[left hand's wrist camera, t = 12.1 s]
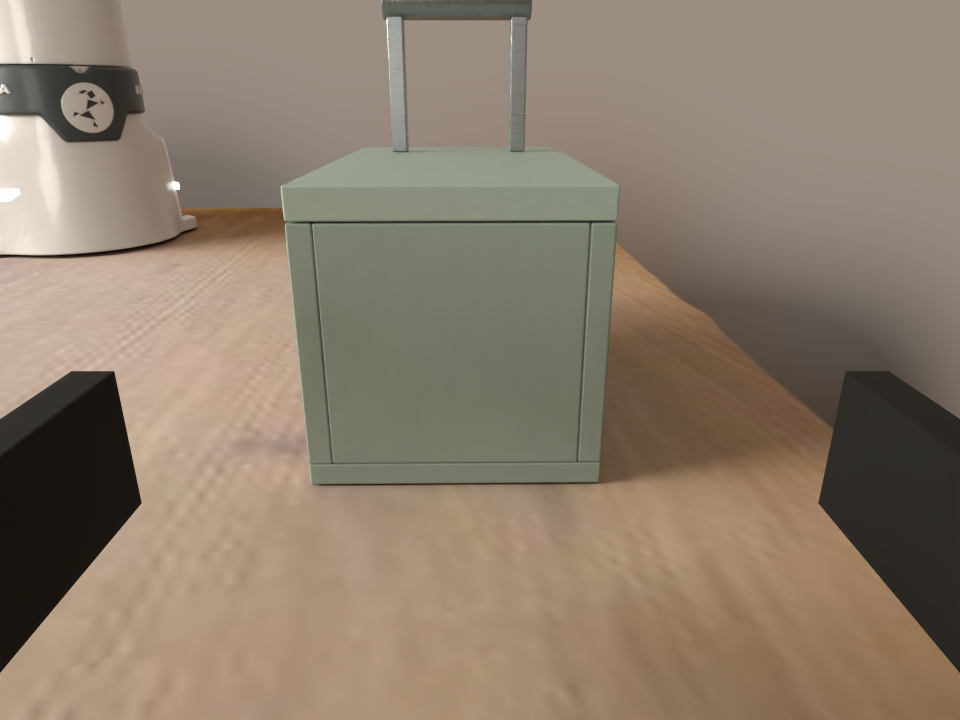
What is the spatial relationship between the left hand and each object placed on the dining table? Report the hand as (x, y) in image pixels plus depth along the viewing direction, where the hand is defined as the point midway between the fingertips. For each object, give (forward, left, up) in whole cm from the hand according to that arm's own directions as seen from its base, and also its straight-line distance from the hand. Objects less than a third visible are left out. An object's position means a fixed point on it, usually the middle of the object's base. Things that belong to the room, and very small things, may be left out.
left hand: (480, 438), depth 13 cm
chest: (+16, +3, -6) cm, 17 cm away
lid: (+16, +3, +3) cm, 17 cm away
